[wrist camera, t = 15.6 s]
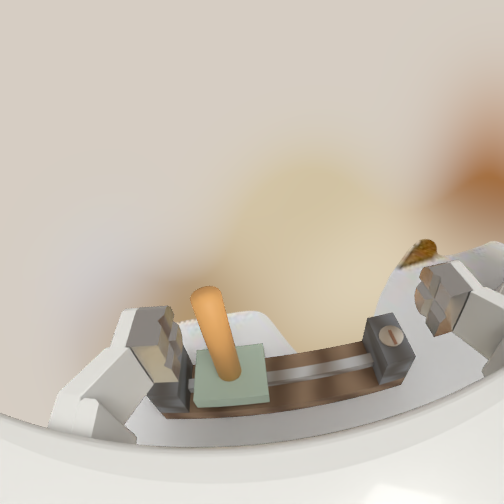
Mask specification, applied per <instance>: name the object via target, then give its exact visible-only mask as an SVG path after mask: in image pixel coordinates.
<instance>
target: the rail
mask: <svg viewBox="0 0 504 504" xmlns="http://www.w3.org/2000/svg"><path fill="white" fill-rule="evenodd" d="M415 357H416V356H415V354H414V352H413V350H412V348H411V346H410V344H409V342H408V340H407V338H406V336H405V334H404V332H403V331H402V329H401V327H400V325H399V323H398V321H397V319H396V318H395V316H394V314H393V313H388V314H384V315H380V316H375V317H371V318H367V322H366V327H365V332H364V335H363V339H362V341H360V342H355V343H351V344H346V345H341V346H336V347H331V348H326V349H320V350H315V351H309V352H303V353H297V354H291V355H284V356H277V357H270V358H265V364H266V373H267V381H268V390H269V398H270V402H265V403H257V404H247V405H236V406H223V407H204V408H198V407H197V406H196V404H195V403H194V401H193V397H194V381H195V367H196V365H193V364H192V362H191V360H190V358H189V356H188V354H187V352H186V350H185V348H184V346H183V348H182V353H181V355H180V356H179V357H178V360H179V362H180V364H181V365H180V374H179V382H161V383H153V384H154V385H153V386H152V387H151V389H150V390H149V391H148V393H147V397H148V398H149V399H150V400H151V401H152V403H153V404H154V405H155V406H156V407H157V408H158V410H159V411H160V412H161V413H162V414H163V415H164V416H165V418H166V419H199V418H223V417H237V416H249V415H258V414H267V413H275V412H282V411H289V410H296V409H302V408H308V407H313V406H318V405H324V404H328V403H333V402H338V401H342V400H347V399H351V398H355V397H359V396H363V395H367V394H370V393H374V392H378V391H381V390H385V389H388V388H391V387H394V386H398V385H401V384H402V382H403V380H404V378H405V376H406V374H407V372H408V370H409V369H410V367H411V365H412V363H413V361H414V359H415Z"/></svg>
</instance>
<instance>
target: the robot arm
mask: <svg viewBox="0 0 504 504" xmlns="http://www.w3.org/2000/svg"><path fill="white" fill-rule="evenodd" d="M419 278H420V280H421V283H420V284H419V285H418V286H417V287H416V291H415V304H416V307H417V309H418V311H419V313H420V314H421V315H423V316H425V317H426V324H427V326H428V328H429V329H430V331H431V333H432V334H433V336H434V337H435V336H439V335H442V334H445V333H448V332H451V331H453V333H454V334H455V335H457V336H458V337H459V338H461V339H462V340H463V341H465V342H466V343H467V344H469V345H470V346H471V347H473V348H474V349H475V350H476V351H478V352H479V353H480V354H482V355H483V356H484V357H486V358H487V359H488V362H487V363H486V364H485V366H484V367H483V369H482V373H483V375H484V378H482V379H480V380H478V381H476V382H474V383H472V384H470V385H468V386H466V387H464V388H462V389H460V390H458V391H456V392H454V393H451V394H449V395H447V396H445V397H442V398H440V399H438V400H435V401H433V402H430V403H428V404H425V405H423V406H420V407H418V408H415V409H412V410H409V411H407V412H404V413H401V414H398V415H395V416H392V417H389V418H386V419H383V420H379V421H376V422H372V423H369V424H365V425H362V426H358V427H354V428H350V429H346V430H342V431H338V432H333V433H328V434H324V435H319V436H313V437H308V438H302V439H296V440H289V441H282V442H275V443H266V444H256V445H244V446H229V447H166V446H150V445H138V444H136V441H137V437H136V436H135V434H134V433H132V432H131V431H130V430H129V429H128V428H126V427H125V426H124V424H125V423H126V422H127V420H128V419H129V418H130V416H131V415H132V413H133V412H134V411H135V409H136V408H137V407H138V405H139V404H140V402H141V401H142V400H143V398H144V397H145V396H146V394H147V393H148V391H149V390H150V389H151V387H152V386H153V385H154V384H153V383H161V382H179V374H180V365H181V364H180V362H179V360H178V357H179V356H180V355H181V353H182V348H183V342H182V334H181V330H180V328H179V325H178V324H177V323H175V322H173V318H174V313H173V311H172V309H171V307H169V306H157V307H142V308H130V309H125V310H123V311H122V313H121V316H120V319H119V321H118V324H117V327H116V330H115V333H114V336H113V339H112V342H111V345H110V348H105V349H104V350H103V351H102V352H101V353H100V354H99V355H97V356H96V357H95V358H94V359H93V360H92V361H91V362H90V363H89V364H88V365H87V366H86V367H85V368H84V369H83V370H82V371H81V372H79V373H78V374H77V375H76V376H75V377H74V378H73V379H72V380H71V381H70V382H69V383H68V384H67V385H66V386H65V387H64V388H63V389H62V390H61V391H60V392H59V393H58V395H57V398H56V401H55V404H54V407H53V410H52V414H51V417H50V420H49V424H48V427H47V428H45V427H42V426H38V425H35V424H31V423H28V422H25V421H21V420H19V419H16V418H13V417H10V416H7V415H5V414H2V413H0V504H504V282H503V283H502V284H501V285H500V287H499V288H498V289H497V290H496V291H494V290H492V289H490V288H488V287H483V286H482V285H481V284H480V283H479V281H478V280H477V279H476V278H475V277H474V276H473V275H472V273H471V272H470V271H469V270H468V269H467V268H466V267H465V266H464V265H463V263H462V262H461V261H459V260H453V261H449V262H446V263H441V264H437V265H432V266H428V267H424V268H423V269H422V271H421V273H420V277H419ZM503 281H504V280H503Z"/></svg>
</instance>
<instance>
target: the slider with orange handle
mask: <svg viewBox="0 0 504 504" xmlns="http://www.w3.org/2000/svg"><path fill="white" fill-rule="evenodd" d="M190 301H191V304H192V307H193V310H194V312H195V315H196V318H197V321H198V324H199V326H200V329H201V332H202V335H203V337H204V340H205V343H206V345H207V348H208V349H206V350H197V354H196V367H195V381H194V397H193V401H194V403H195V404H196V406H197V407H198V408H204V407H223V406H236V405H247V404H257V403H265V402H270V398H269V390H268V381H267V373H266V364H265V356H264V348H263V343H262V344H254V345H246V346H237V347H235V344H234V341H233V337H232V333H231V329H230V326H229V322H228V318H227V314H226V310H225V307H224V303H223V299H222V295H221V292H220V290H219V289H218V288H216V287H213V286H205V287H202V288H199V289H197V290H196V291H194V292H193V294H192V295H191V297H190Z"/></svg>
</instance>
